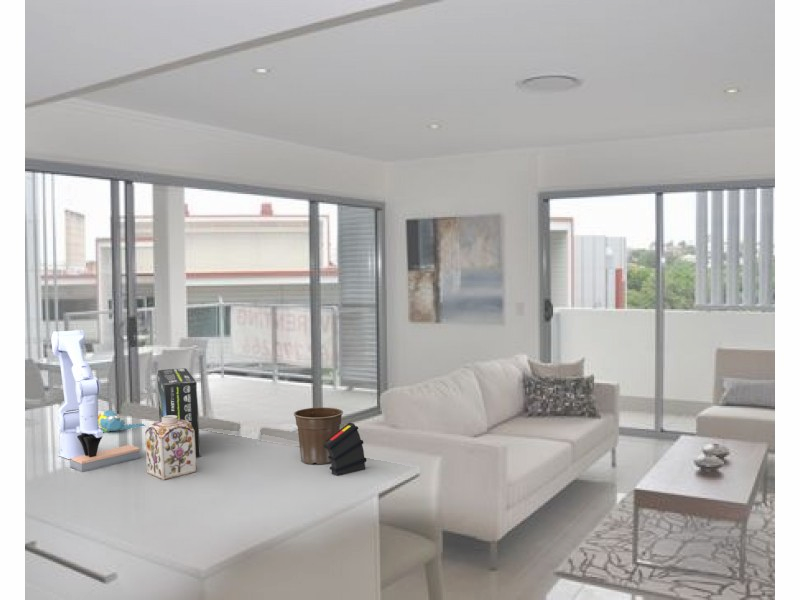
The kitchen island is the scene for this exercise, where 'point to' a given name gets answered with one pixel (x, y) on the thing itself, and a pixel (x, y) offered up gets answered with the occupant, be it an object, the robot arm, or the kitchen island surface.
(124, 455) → the cable duct
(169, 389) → the router box
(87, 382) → the robot arm
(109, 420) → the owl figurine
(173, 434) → the decorative jar
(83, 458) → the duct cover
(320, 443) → the plant pot
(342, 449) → the magazine
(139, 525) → the kitchen island surface
